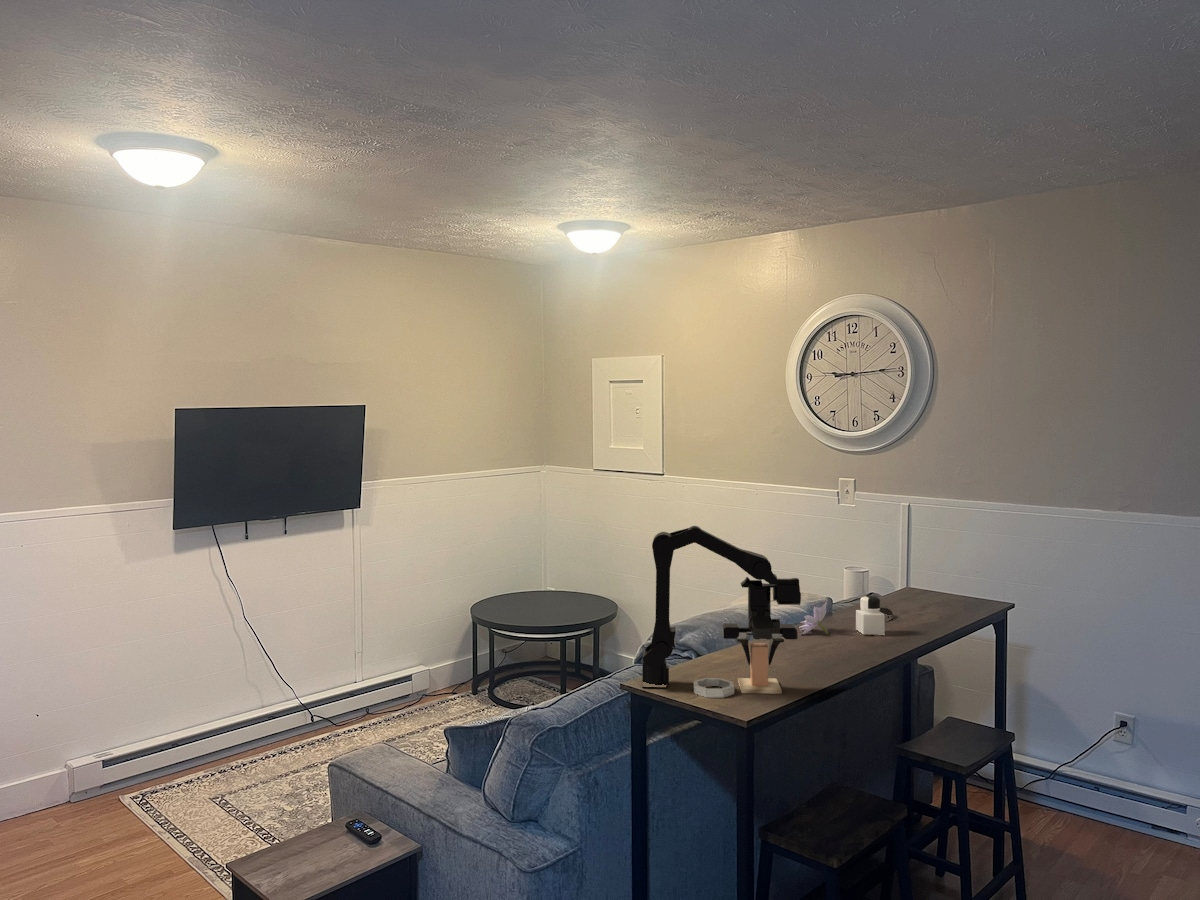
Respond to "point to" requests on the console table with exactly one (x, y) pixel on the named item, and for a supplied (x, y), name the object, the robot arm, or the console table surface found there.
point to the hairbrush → (886, 611)
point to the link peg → (759, 664)
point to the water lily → (814, 619)
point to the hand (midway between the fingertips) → (759, 664)
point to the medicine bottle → (870, 616)
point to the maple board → (770, 689)
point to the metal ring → (713, 692)
